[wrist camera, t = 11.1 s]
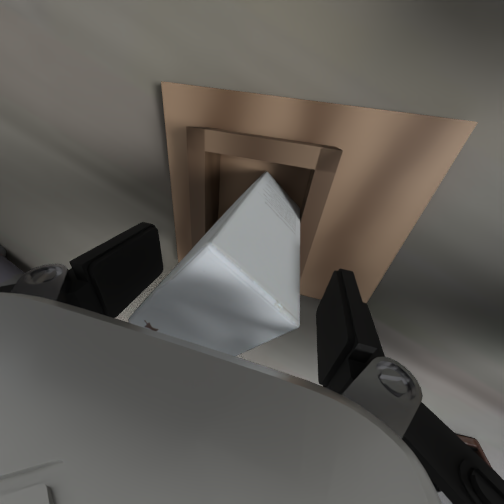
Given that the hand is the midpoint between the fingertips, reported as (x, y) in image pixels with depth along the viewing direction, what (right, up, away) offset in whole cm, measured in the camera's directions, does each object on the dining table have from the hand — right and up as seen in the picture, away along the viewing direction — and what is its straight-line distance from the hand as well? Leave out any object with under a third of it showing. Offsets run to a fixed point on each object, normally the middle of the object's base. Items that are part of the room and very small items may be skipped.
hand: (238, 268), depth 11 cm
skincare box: (+1, +4, +7) cm, 8 cm away
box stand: (+3, +4, +8) cm, 9 cm away
